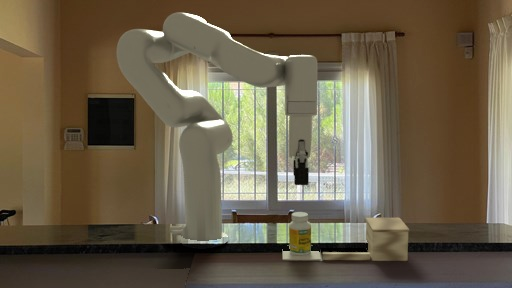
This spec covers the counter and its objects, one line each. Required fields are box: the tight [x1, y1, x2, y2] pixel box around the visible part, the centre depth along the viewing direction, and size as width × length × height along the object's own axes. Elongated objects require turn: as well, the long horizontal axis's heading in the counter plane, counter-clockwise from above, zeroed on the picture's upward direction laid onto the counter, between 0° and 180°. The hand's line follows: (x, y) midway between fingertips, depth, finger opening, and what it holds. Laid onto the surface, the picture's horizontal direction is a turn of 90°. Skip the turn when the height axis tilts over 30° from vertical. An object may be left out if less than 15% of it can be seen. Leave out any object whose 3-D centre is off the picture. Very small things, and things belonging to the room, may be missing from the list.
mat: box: [282, 250, 321, 261], centre depth 118 cm, size 9×9×1 cm
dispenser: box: [318, 217, 410, 262], centre depth 117 cm, size 21×10×8 cm, turn 87°
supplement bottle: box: [288, 211, 312, 256], centre depth 118 cm, size 5×5×10 cm
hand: (300, 180), depth 116 cm, fingers open, 9 cm apart
